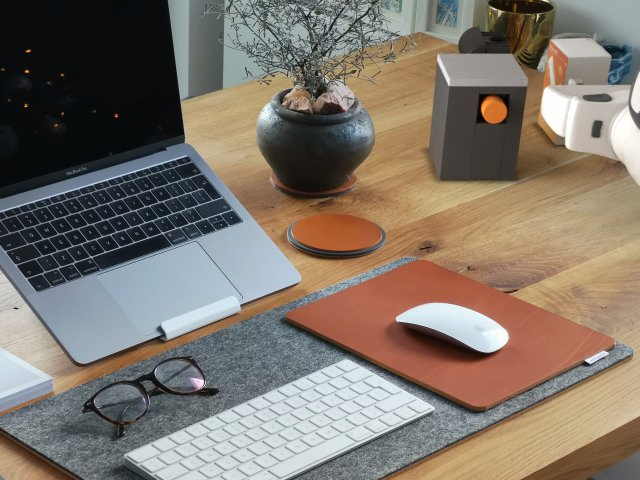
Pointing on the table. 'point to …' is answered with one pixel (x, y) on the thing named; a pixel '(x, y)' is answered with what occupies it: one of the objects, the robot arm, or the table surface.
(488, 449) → the table surface
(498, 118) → the power button
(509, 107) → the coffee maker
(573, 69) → the small box
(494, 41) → the end cap
